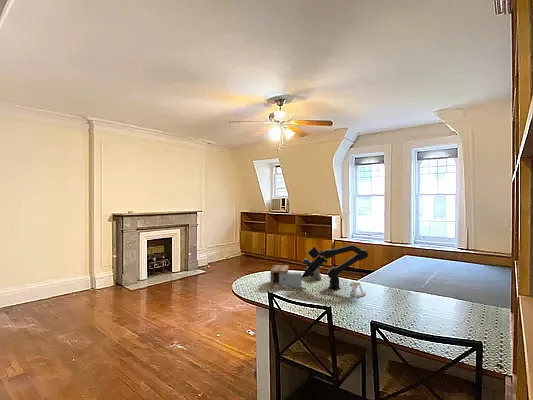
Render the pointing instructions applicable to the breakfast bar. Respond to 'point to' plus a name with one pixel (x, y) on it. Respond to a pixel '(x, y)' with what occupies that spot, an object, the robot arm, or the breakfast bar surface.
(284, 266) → the cubby cabinet
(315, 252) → the robot arm
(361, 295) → the portable electronic device stand
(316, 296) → the breakfast bar surface
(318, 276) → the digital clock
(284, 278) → the gray rectangular box
